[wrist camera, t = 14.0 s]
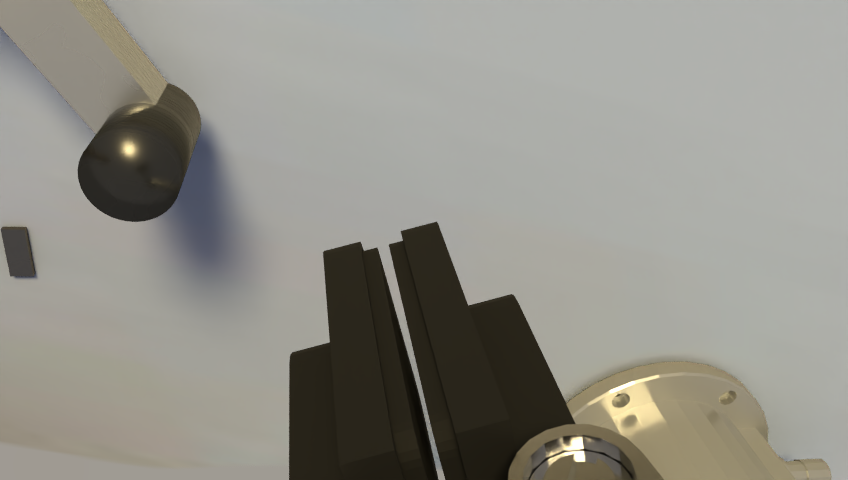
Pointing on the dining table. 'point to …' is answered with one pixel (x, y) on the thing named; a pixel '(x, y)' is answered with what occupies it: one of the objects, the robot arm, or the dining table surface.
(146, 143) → the crank
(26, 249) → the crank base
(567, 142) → the dining table surface
